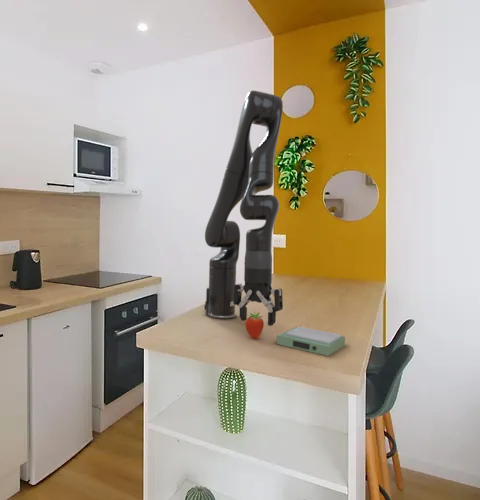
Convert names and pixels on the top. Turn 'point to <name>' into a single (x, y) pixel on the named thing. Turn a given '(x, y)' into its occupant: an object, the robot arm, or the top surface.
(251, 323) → the fruit
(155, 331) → the top surface
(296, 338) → the scale
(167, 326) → the top surface
